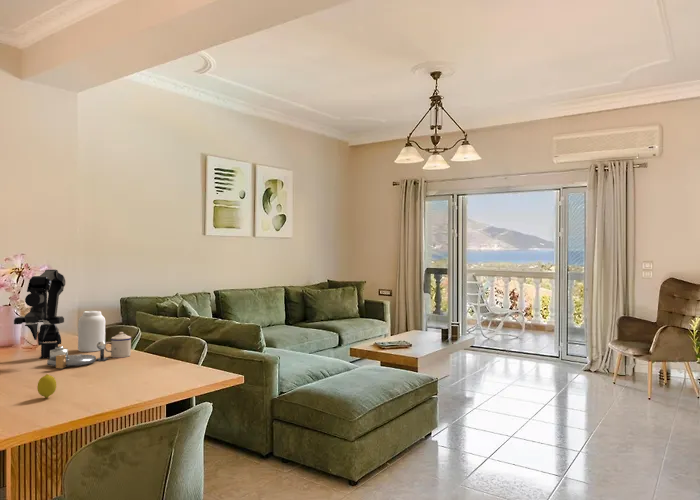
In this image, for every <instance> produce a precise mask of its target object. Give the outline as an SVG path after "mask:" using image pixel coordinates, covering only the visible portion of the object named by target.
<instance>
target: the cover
mask: <svg viewBox="0 0 700 500" xmlns="http://www.w3.org/2000/svg"><path fill="white" fill-rule="evenodd" d="M57 355H66V359H68V355H69V349H68V348H64V346H62V345H61V346H60V345H58V347H55V349H52V350H50V358H49V359H50V360H56V356H57Z"/></svg>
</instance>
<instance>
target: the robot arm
mask: <svg viewBox="0 0 700 500" xmlns="http://www.w3.org/2000/svg"><path fill="white" fill-rule="evenodd" d="M65 278H66V277H65V276H64V274H62V273H60V272H59V271H58V269H46V270H44V272H43V273H41V274H40V275H32V276H31V278H30V279H29V280H28V285H27V290H26V292H27V293H28V294H27V295H26V296H25V298H24V302H25V304H26V305H27V306H29V307H30V308H29V312H27V313H26V314H25V315H24V316H17V317H15V318H14V319H13V325H22V324H24V323H25V324H24V326H25V327H27V328H28V329H29V330H30V332H31V335H32V337H33V339H34V341H36V340H37V344H38V346H41V347H40V348H41V349H40V357H39V359H50V350H52V349H55V347H59V346H60V345H62V336H61V334H60V330H59V328H58V326H57V325H58V324H60V325H61V324H63V323H65V318H64V316H62V315H61V316H60V315H59V316H57V313H58V306H59V297H60V295H61V294H62V293H63V291H64V289H65V288H64V287H65V286H66V279H65ZM39 323H42V324H41V325H40V326H38V324H39ZM38 327H39V331H38Z"/></svg>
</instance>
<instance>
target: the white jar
mask: <svg viewBox="0 0 700 500" xmlns="http://www.w3.org/2000/svg"><path fill="white" fill-rule="evenodd" d="M77 328H78V329H77V349H78V352H83V353H93V352H94V353H95V352H100V350H99V349H98V348H97V344H98V343H99V342H104V343H106V318H105V316H103V314H102V311H101V310H87V311H86V310H85V311H83V312H82V315H81V316H80V317H79V318H78V322H77Z"/></svg>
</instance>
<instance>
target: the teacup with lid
mask: <svg viewBox="0 0 700 500" xmlns="http://www.w3.org/2000/svg"><path fill="white" fill-rule="evenodd" d="M105 344H106V345H108V344H110V345H111V346H110V347H111V348H110V349H111V350H109V349H107V348H106V347H105V348H104V351H105V352H107V353H110V357H111V358H113V359H118V358H119V359H123V358H128V357H131V353H132V352H131V350H132V347H131V346H132V336H131V335H127V334H126V333H124V331H119V332H118V334H115V336H112V337H111V338H110V341H105Z"/></svg>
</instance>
